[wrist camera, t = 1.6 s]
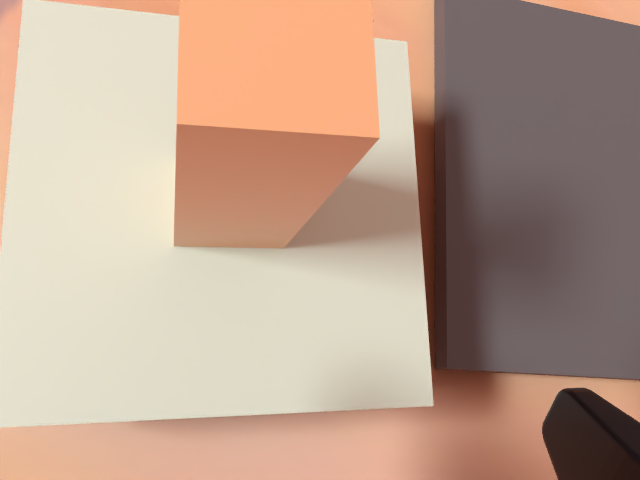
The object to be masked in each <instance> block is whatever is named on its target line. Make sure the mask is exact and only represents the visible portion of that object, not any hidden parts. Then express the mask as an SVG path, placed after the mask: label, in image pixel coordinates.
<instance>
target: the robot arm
mask: <svg viewBox="0 0 640 480" xmlns="http://www.w3.org/2000/svg"><path fill="white" fill-rule="evenodd" d="M542 434H543V439H544V442H545V445H546V448H547V450H548V453H549V456H550V459H551V461H552V464H553V467H554V470H555V472H556V475H557V478H558V480H640V423H639V422H638V421H636V420H635V419H633V418H632V417H630V416H629V415H627V414H626V413H624V412H623V411H621V410H620V409H618V408H617V407H615V406H614V405H612V404H611V403H609V402H608V401H606V400H605V399H603V398H602V397H600V396H599V395H597V394H596V393H594V392H593V391H591V390H589V389H586V388H567V389H563V390H561V391H560V392H559V393H558V394H557V396H556V398H555V400H554V402H553V404H552V406H551V408H550V410H549V412H548V414H547V416H546V418H545V420H544V422H543V427H542Z"/></svg>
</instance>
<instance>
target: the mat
mask: <svg viewBox="0 0 640 480" xmlns="http://www.w3.org/2000/svg"><path fill="white" fill-rule="evenodd" d="M435 369H448V370H466V371H484V372H501V373H519V374H537V375H555V376H573V377H591V378H609V379H627V380H640V26H637V25H632V24H628V23H623V22H618V21H614V20H609V19H604V18H600V17H595V16H590V15H586V14H581V13H577V12H572V11H567V10H563V9H558V8H553V7H549V6H544V5H539V4H535V3H530V2H526V1H521V0H435Z"/></svg>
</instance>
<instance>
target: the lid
mask: <svg viewBox="0 0 640 480" xmlns="http://www.w3.org/2000/svg"><path fill="white" fill-rule="evenodd" d="M425 406H434V404H433V390H432V376H431V363H430V349H429V335H428V321H427V308H426V294H425V280H424V267H423V253H422V239H421V226H420V212H419V198H418V185H417V171H416V157H415V143H414V130H413V116H412V102H411V89H410V75H409V61H408V48H407V42H406V41H397V40H388V39H379V38H374V29H373V12H372V0H180V2H179V16H174V15H166V14H157V13H148V12H139V11H130V10H121V9H112V8H103V7H94V6H86V5H77V4H68V3H59V2H50V1H41V0H23V7H22V18H21V29H20V40H19V51H18V62H17V73H16V84H15V95H14V106H13V117H12V128H11V139H10V150H9V161H8V172H7V183H6V194H5V205H4V216H3V227H2V238H1V249H0V428H2V427H23V426H43V425H63V424H83V423H103V422H123V421H143V420H164V419H184V418H204V417H224V416H244V415H264V414H284V413H305V412H325V411H345V410H365V409H385V408H405V407H425Z"/></svg>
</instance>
